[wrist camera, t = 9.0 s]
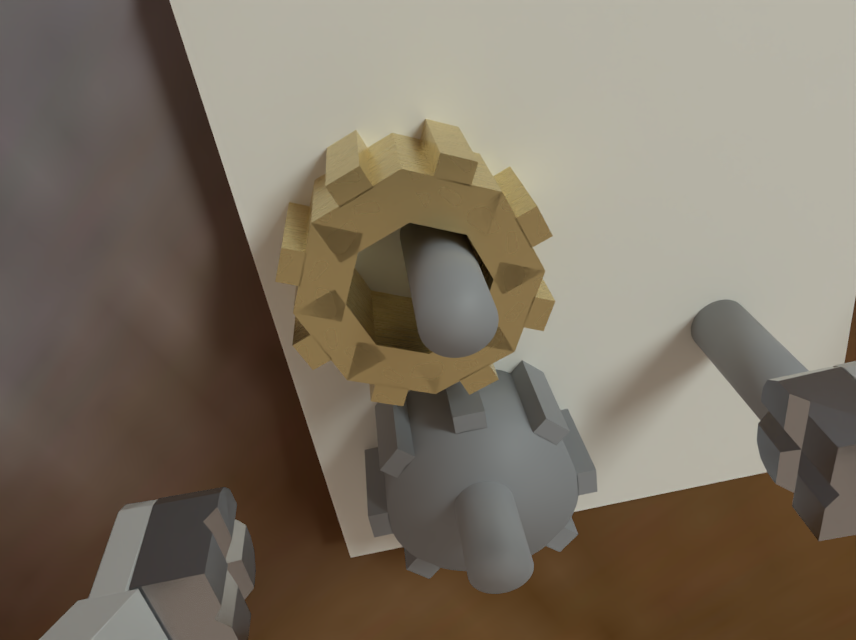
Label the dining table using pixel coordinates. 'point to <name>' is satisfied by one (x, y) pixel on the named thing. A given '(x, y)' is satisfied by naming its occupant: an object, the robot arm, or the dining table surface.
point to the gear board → (557, 242)
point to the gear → (382, 215)
